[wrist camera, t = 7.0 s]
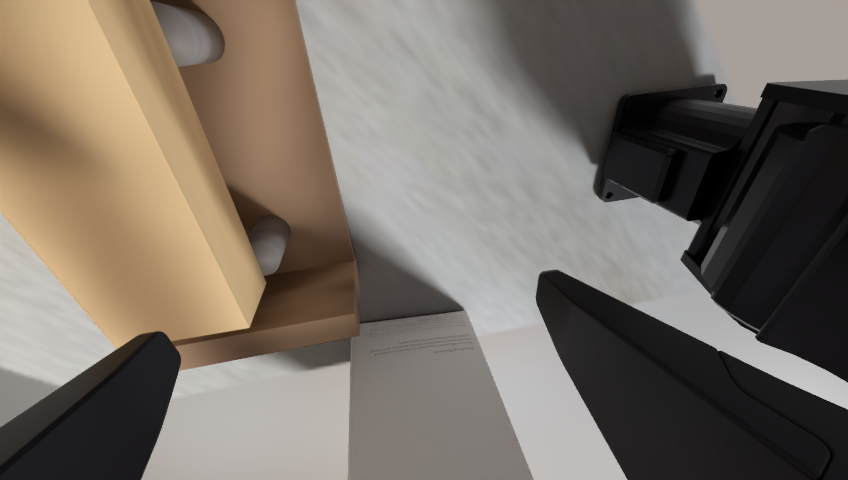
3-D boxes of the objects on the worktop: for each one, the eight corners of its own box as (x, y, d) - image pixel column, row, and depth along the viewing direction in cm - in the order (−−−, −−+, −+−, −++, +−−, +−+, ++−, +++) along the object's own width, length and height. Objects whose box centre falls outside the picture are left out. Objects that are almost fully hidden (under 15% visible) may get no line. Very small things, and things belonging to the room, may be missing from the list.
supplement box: (347, 321, 23) (338, 649, 11) (467, 306, 25) (583, 581, 12) (359, 397, 28) (362, 686, 15) (459, 381, 29) (537, 634, 17)
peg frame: (267, -118, 12) (210, -222, 7) (359, 273, 21) (359, 335, 17) (-83, -105, 10) (-419, -220, 6) (181, 303, 20) (130, 380, 15)
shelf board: (136, -31, 10) (58, -58, 7) (266, 282, 16) (249, 327, 13) (-59, -23, 9) (-221, -49, 6) (157, 299, 15) (117, 350, 13)
